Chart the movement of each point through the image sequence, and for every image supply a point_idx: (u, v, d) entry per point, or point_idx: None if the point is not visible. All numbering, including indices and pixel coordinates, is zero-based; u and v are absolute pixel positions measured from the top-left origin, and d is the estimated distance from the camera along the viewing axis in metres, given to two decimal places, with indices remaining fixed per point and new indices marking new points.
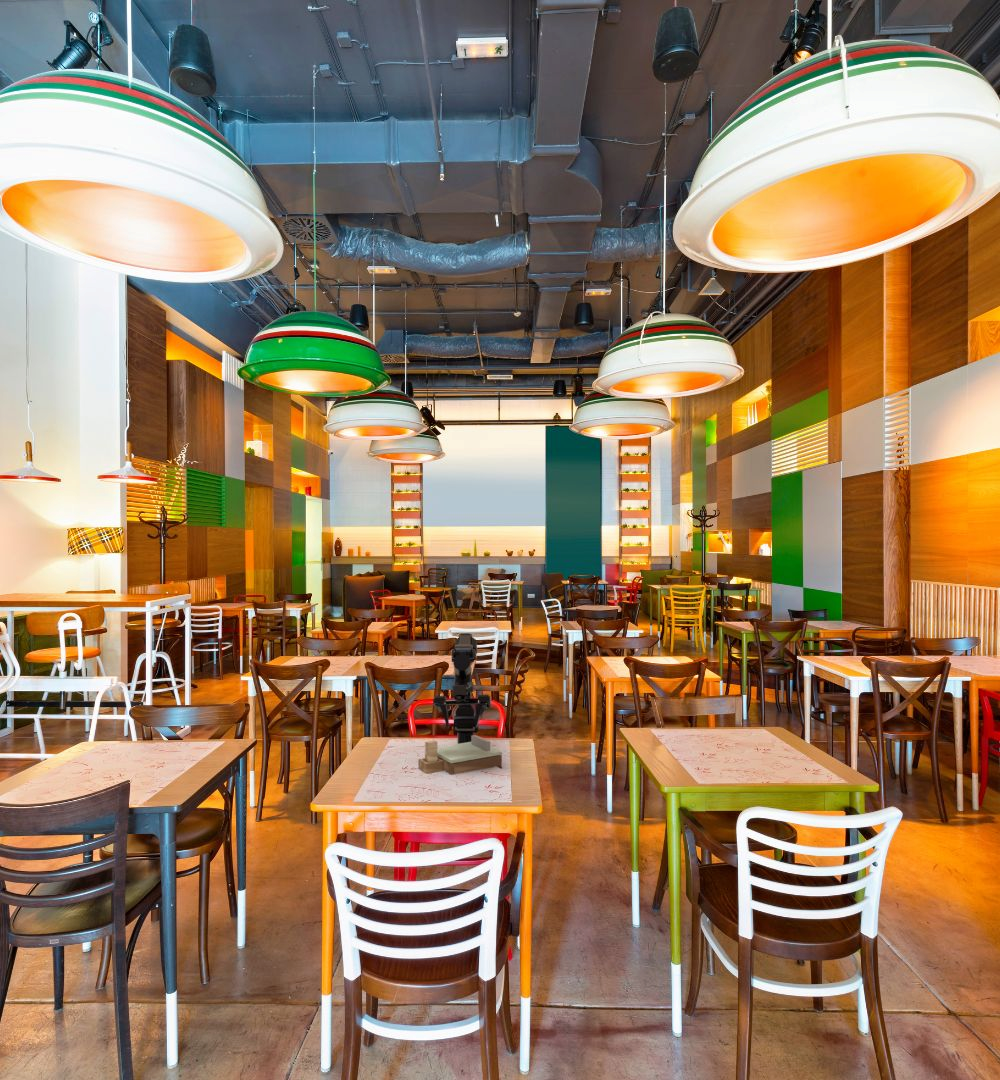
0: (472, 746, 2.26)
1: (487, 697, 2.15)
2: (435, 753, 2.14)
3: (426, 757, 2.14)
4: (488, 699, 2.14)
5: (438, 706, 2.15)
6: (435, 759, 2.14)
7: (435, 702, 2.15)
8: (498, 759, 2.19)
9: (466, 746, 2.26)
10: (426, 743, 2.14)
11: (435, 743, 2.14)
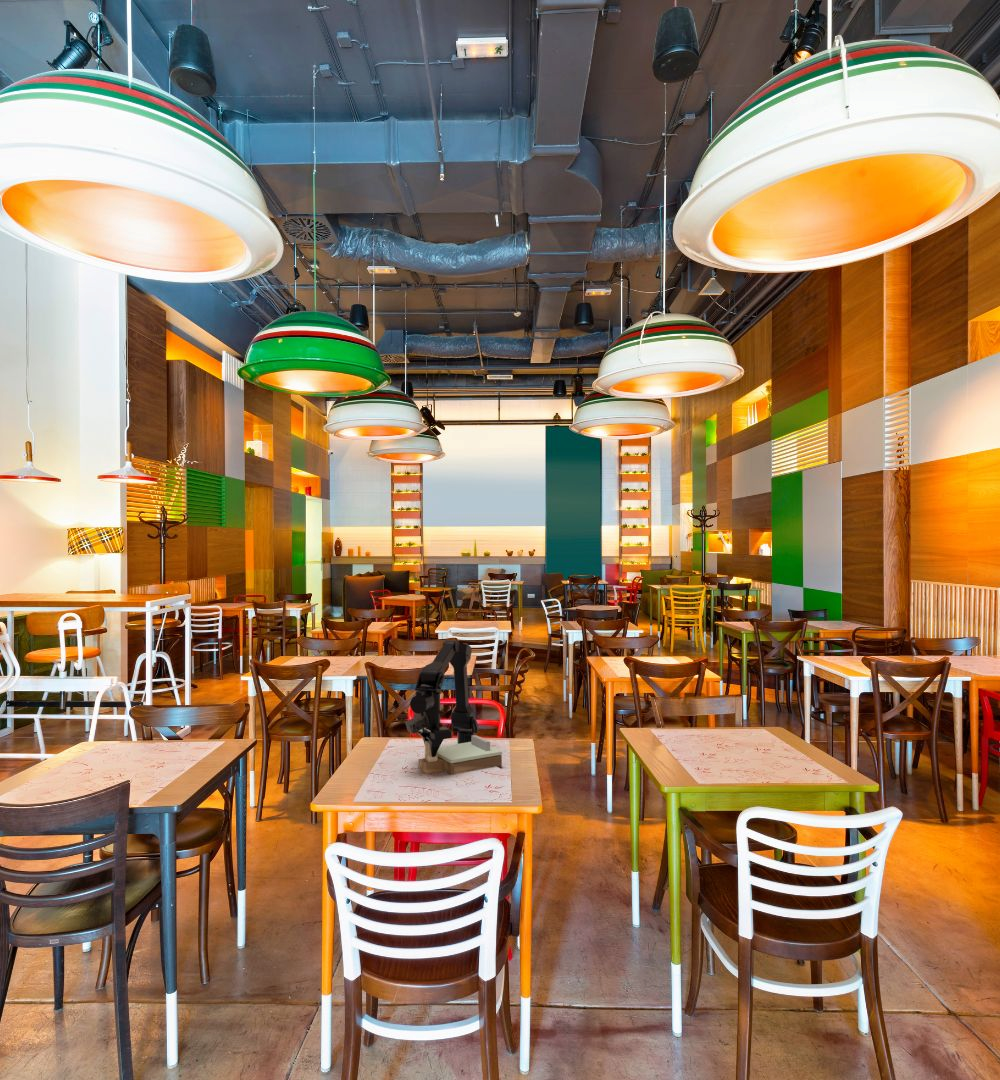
0: (472, 746, 2.26)
1: (434, 735, 2.06)
2: None
3: (426, 757, 2.14)
4: (435, 737, 2.06)
5: (418, 733, 2.17)
6: (435, 759, 2.14)
7: None
8: (498, 759, 2.19)
9: (466, 746, 2.26)
10: (426, 743, 2.14)
11: None
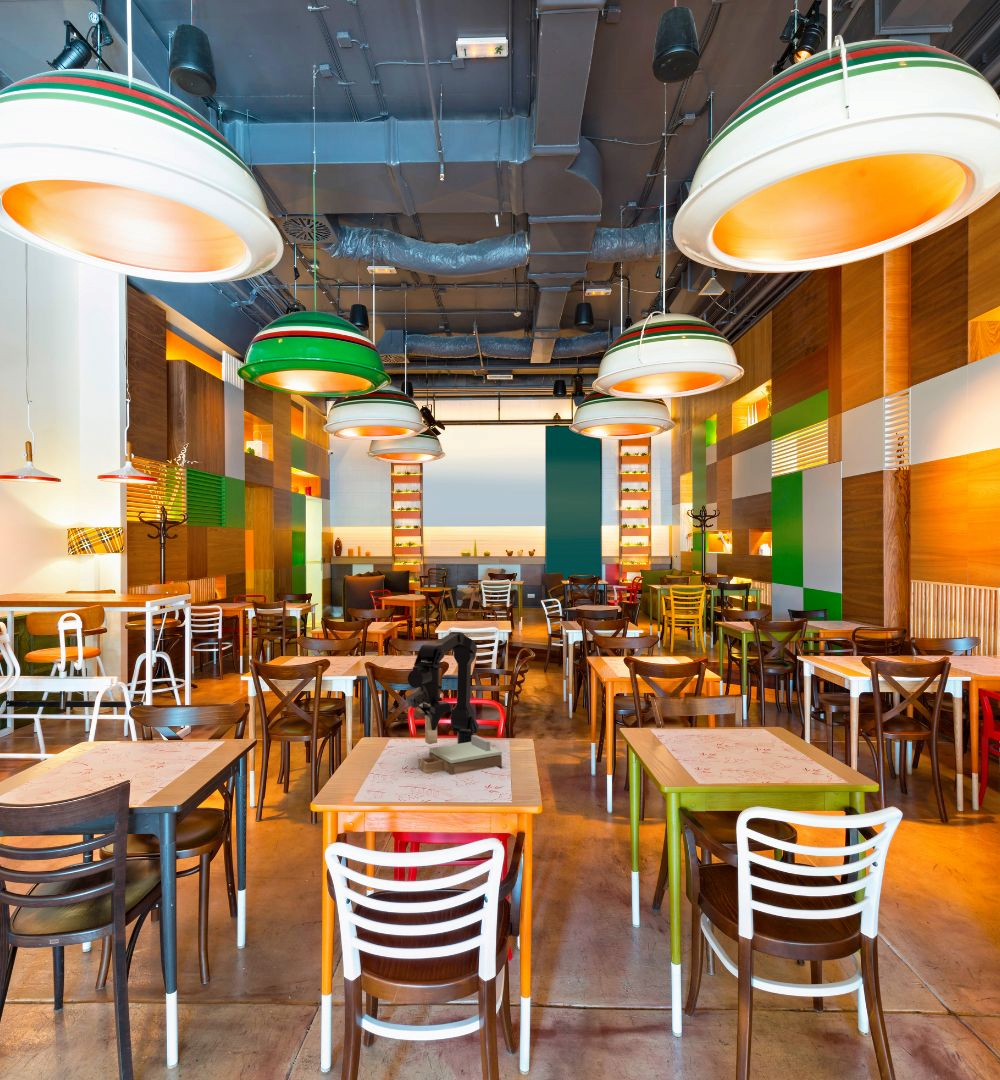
0: (472, 746, 2.26)
1: (434, 708, 2.13)
2: None
3: (426, 730, 2.21)
4: (435, 711, 2.13)
5: None
6: (435, 732, 2.21)
7: None
8: (498, 759, 2.19)
9: (466, 746, 2.26)
10: (426, 717, 2.21)
11: None
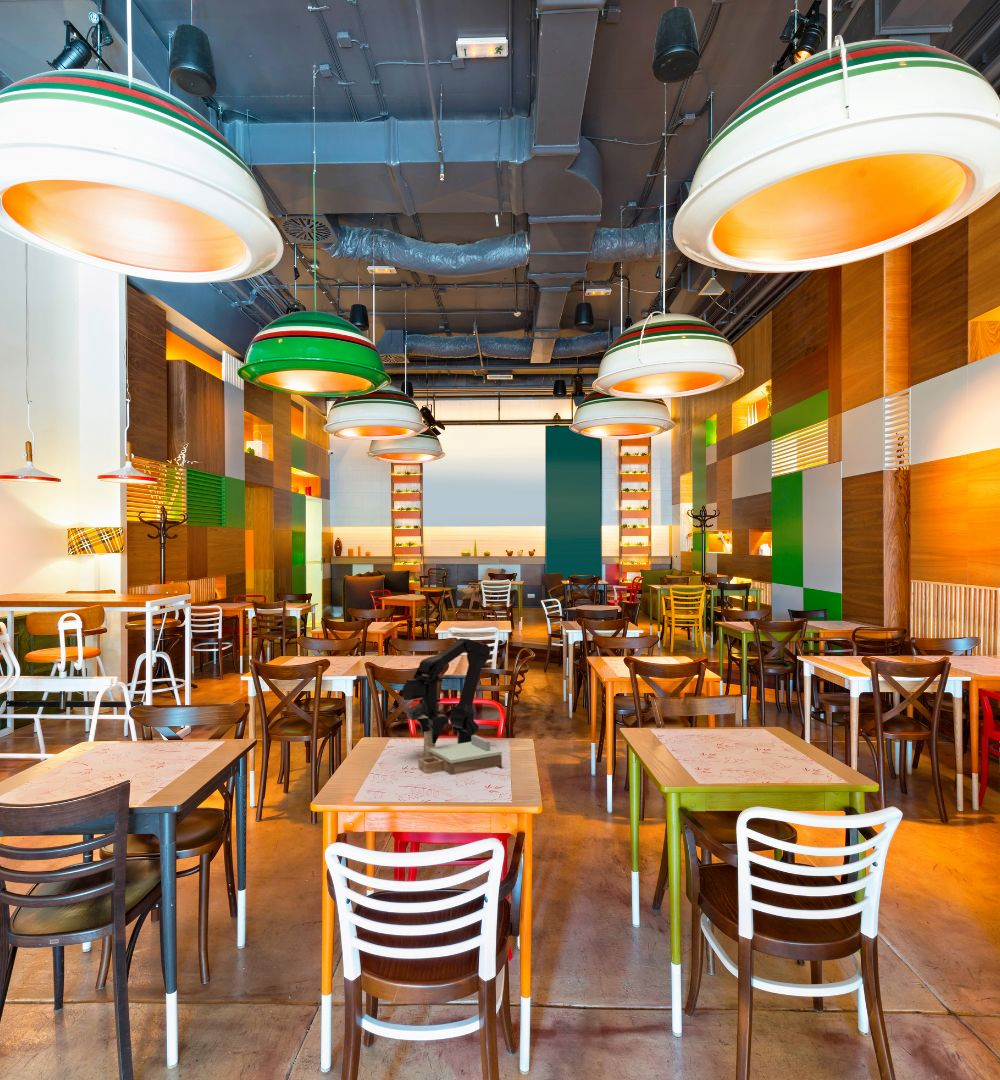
0: (472, 746, 2.26)
1: (432, 721, 2.22)
2: (433, 743, 2.30)
3: (425, 746, 2.30)
4: (433, 723, 2.22)
5: None
6: None
7: None
8: (498, 759, 2.19)
9: (466, 746, 2.26)
10: (425, 733, 2.31)
11: None
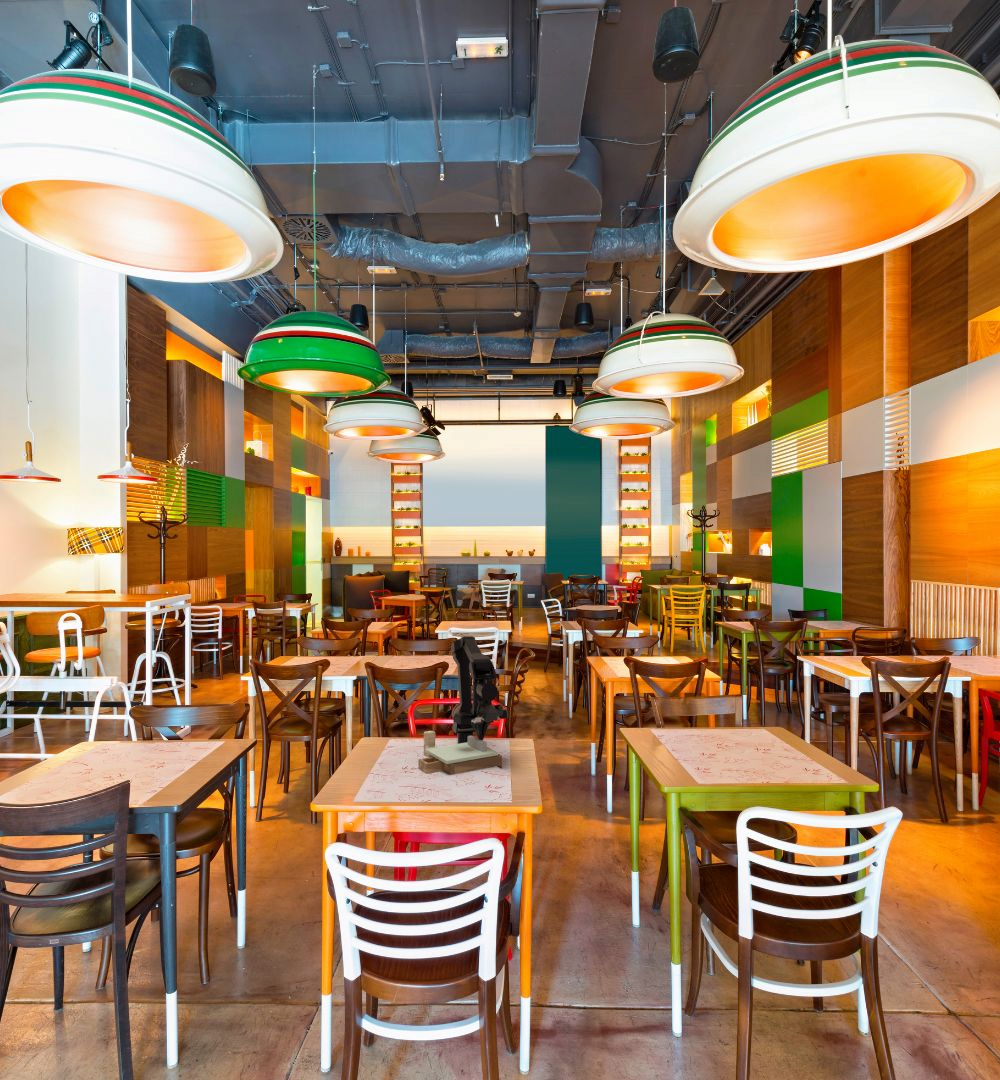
0: (468, 747, 2.25)
1: (506, 713, 2.27)
2: (433, 743, 2.30)
3: (425, 746, 2.30)
4: (507, 715, 2.27)
5: (477, 724, 2.21)
6: None
7: (463, 723, 2.18)
8: (498, 759, 2.19)
9: (462, 747, 2.25)
10: (425, 733, 2.31)
11: (433, 733, 2.30)
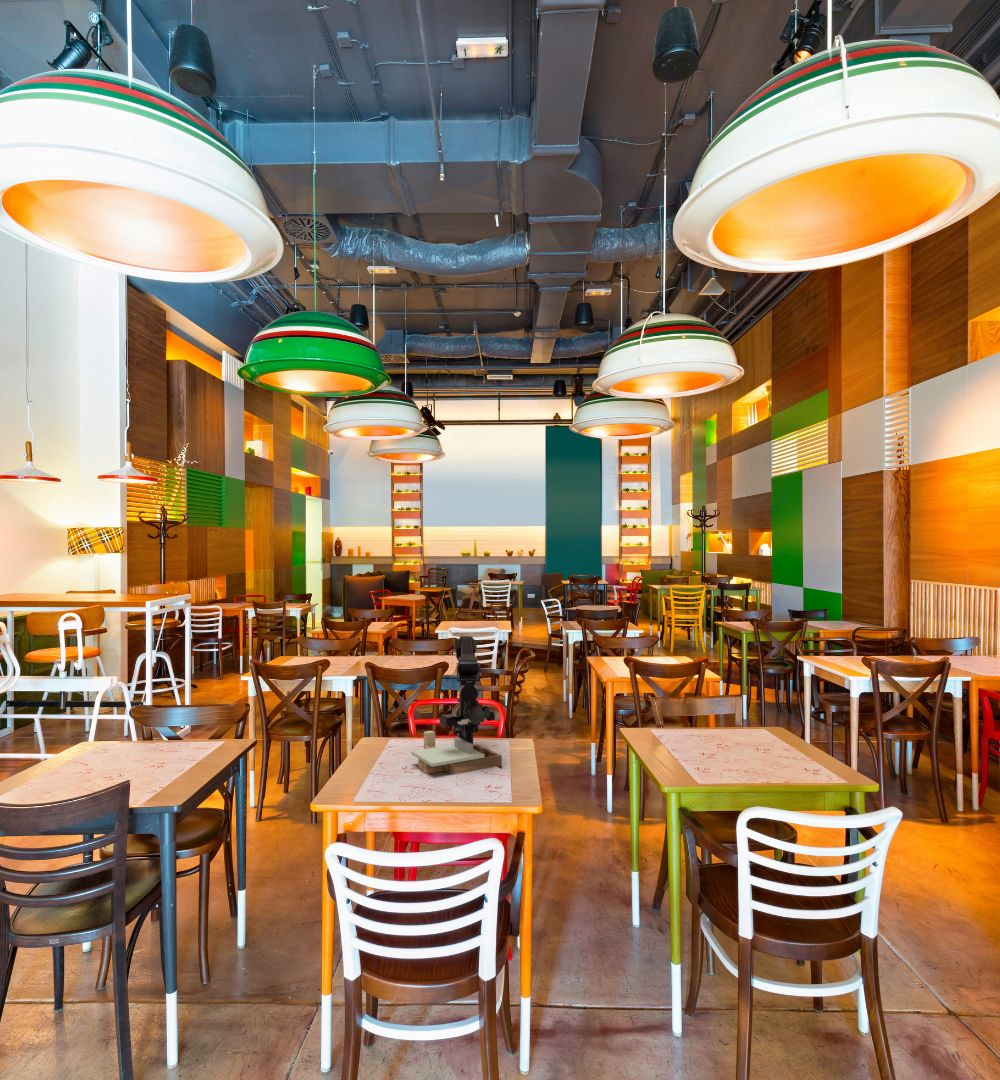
0: (455, 749, 2.22)
1: (494, 715, 2.24)
2: (433, 743, 2.30)
3: (425, 746, 2.30)
4: (494, 717, 2.24)
5: (463, 726, 2.18)
6: None
7: (449, 725, 2.15)
8: (498, 759, 2.19)
9: (449, 749, 2.22)
10: (425, 733, 2.31)
11: (433, 733, 2.30)
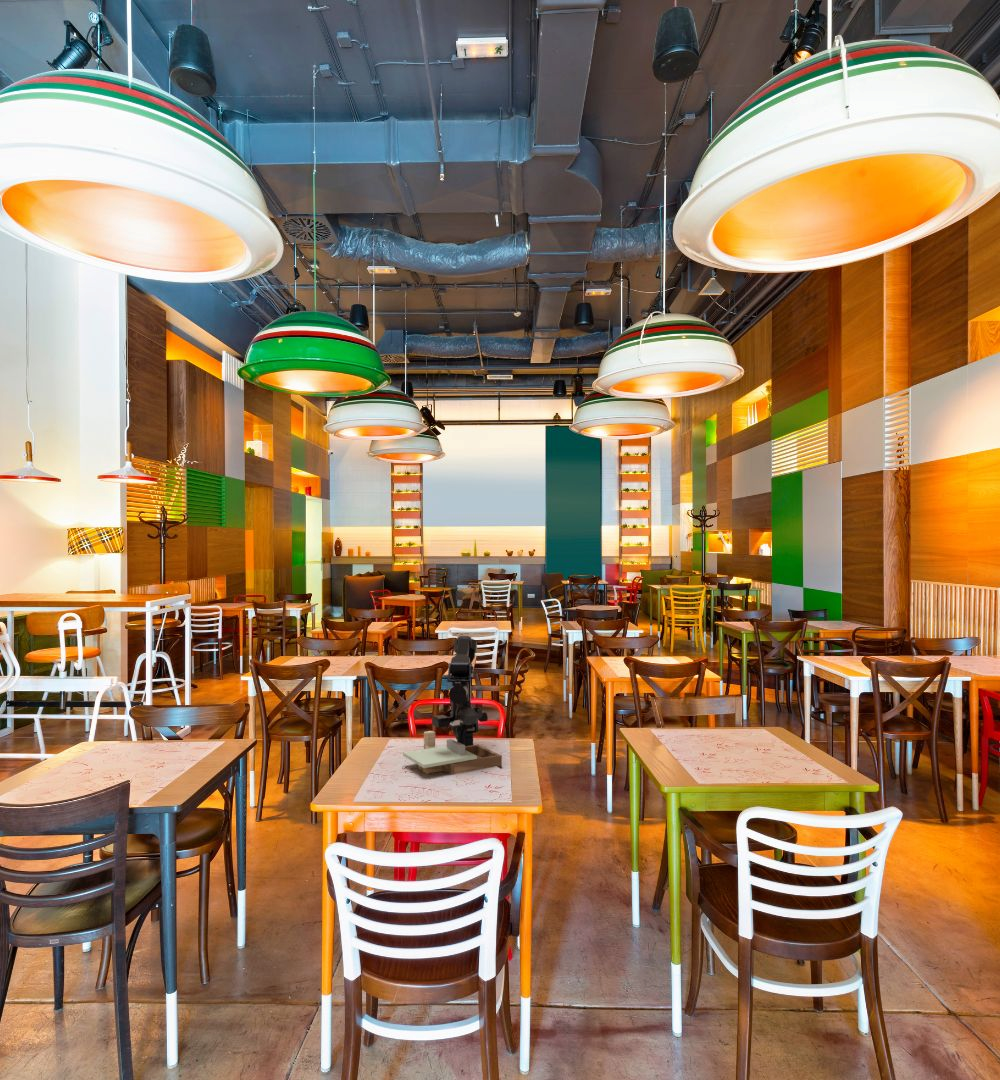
0: (447, 750, 2.21)
1: (486, 716, 2.23)
2: (433, 743, 2.30)
3: (425, 746, 2.30)
4: (487, 718, 2.23)
5: (455, 727, 2.17)
6: None
7: (441, 726, 2.14)
8: (498, 759, 2.19)
9: (441, 750, 2.21)
10: (425, 733, 2.31)
11: (433, 733, 2.30)
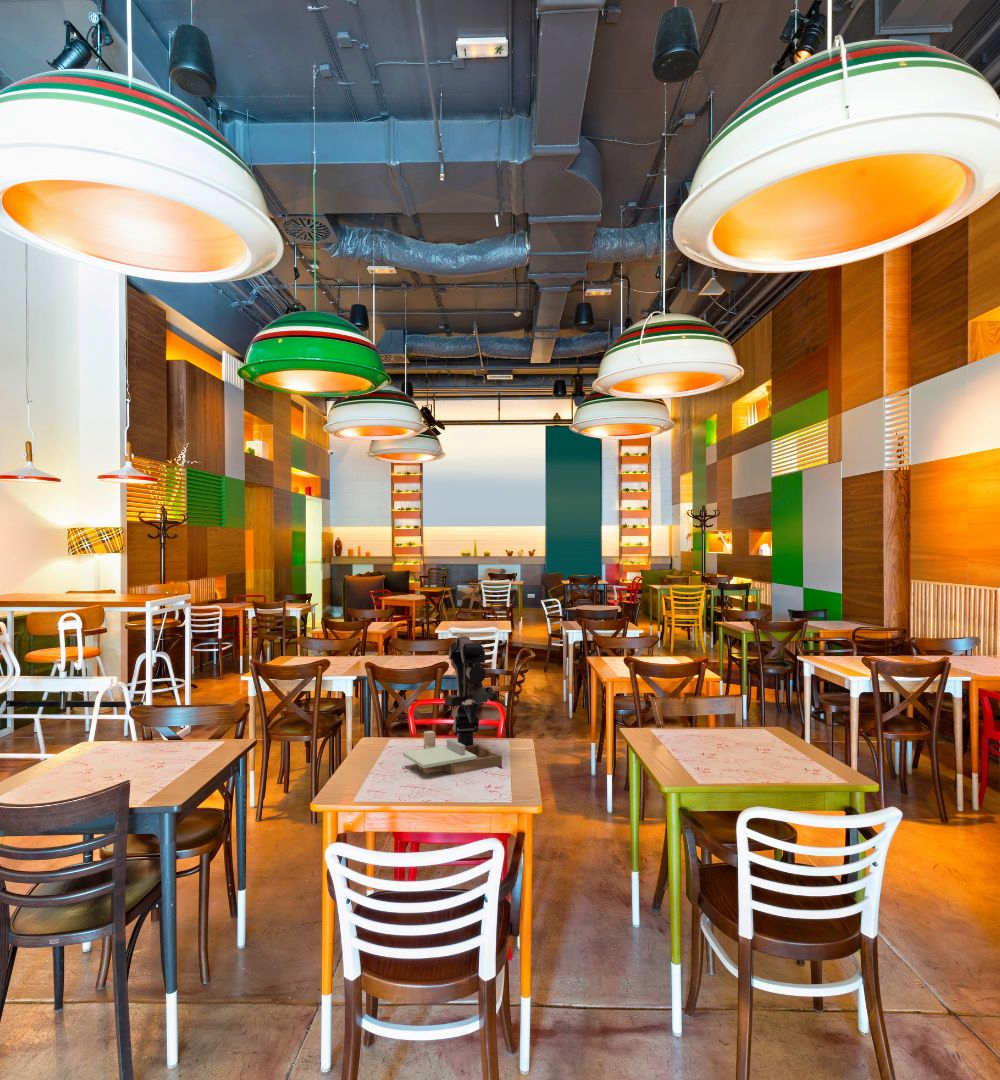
0: (447, 750, 2.21)
1: (497, 696, 2.34)
2: (433, 743, 2.30)
3: (425, 746, 2.30)
4: (497, 698, 2.35)
5: (467, 706, 2.28)
6: None
7: (454, 705, 2.25)
8: (498, 759, 2.19)
9: (441, 750, 2.20)
10: (425, 733, 2.31)
11: (433, 733, 2.30)
